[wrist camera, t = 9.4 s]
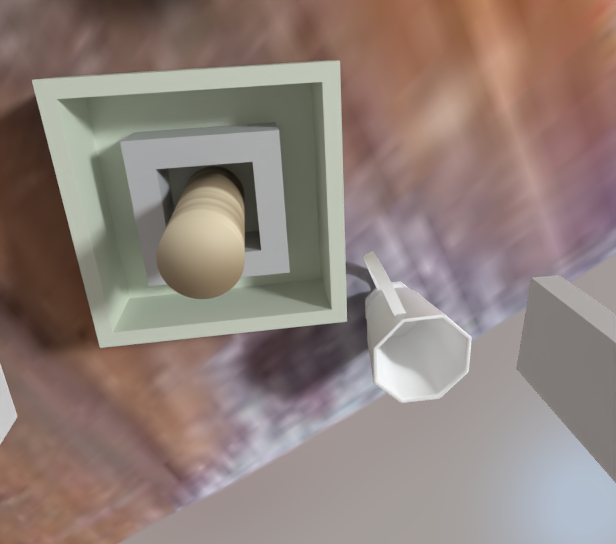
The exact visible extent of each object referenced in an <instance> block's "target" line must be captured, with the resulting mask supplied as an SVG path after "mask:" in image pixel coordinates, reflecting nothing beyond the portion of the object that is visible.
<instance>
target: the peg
mask: <svg viewBox="0 0 616 544" xmlns="http://www.w3.org/2000/svg"><path fill="white" fill-rule="evenodd" d="M156 261H157V267H158V270H159V272H160V275H161V276H162V278H163V280H164V281H165V282H166V284H167V285H168V286H169V287H170V288H172V289H173V290H174V291H176V292H177V293H179V294H181V295H183V296H186V297H189V298H194V299H210V298H215V297H218V296H220V295H223V294H224V293H226V292H228V291H229V290H230V289H232V288H233V287H234V286H235V285H236V283H237V282H238V281H239V279H240V277H241V275H242V273H243V269H244V263H245V196H244V189H243V186H242V184H241V182H240V180H239V179H238V178H237V176H236V175H235V174H233V173H232V172H231V171H229V170H227V169H225V168H222V167H216V166H210V167H205V168H202V169H200V170H198V171H197V172H195V173H194V174H193V175H192V176H191V177H190V179H189V180H188V182H187V184H186V186H185V189H184V191H183V193H182V195H181V197H180V199H179V201H178V204H177V206H176V208H175V210H174V212H173V214H172V217H171V219H170V221H169V223H168V225H167V227H166V229H165V232H164V234H163V236H162V238H161V240H160V242H159V245H158V248H157V253H156Z"/></svg>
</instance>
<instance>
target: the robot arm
mask: <svg viewBox="0 0 616 544" xmlns="http://www.w3.org/2000/svg"><path fill="white" fill-rule="evenodd" d="M517 370H518V371H519V372H520V373H521V374H522V376H523V377H524V378H525V379H526V380H527V381H528V383H529V384H530V385H531V386H532V387H533V388H534V390H535V391H536V392H537V393H538V394H539V395H540V396H541V397H542V399H543V400H544V401H545V402H546V403H547V404H548V406H549V407H550V408H551V409H552V410H553V411H554V412H555V414H556V415H557V416H558V417H559V418H560V419H561V421H562V422H563V423H564V424H565V425H566V426H567V427H568V429H569V430H570V431H571V432H572V433H573V434H574V435H575V436H576V438H577V439H578V440H579V441H580V442H581V443H582V445H583V446H584V447H585V448H586V449H587V450H588V452H589V453H590V454H591V455H592V456H593V457H594V458H595V460H596V461H597V462H598V463H599V464H600V465H601V466H602V468H603V469H604V470H605V471H606V472H607V473H608V474H609V476H610V477H611V478H612V479H613V480H614V481H615V482H616V314H614V313H613V312H612V311H610V310H609V309H607V308H606V307H604V306H603V305H602V304H600V303H599V302H597V301H596V300H594V299H593V298H592V297H590V296H589V295H587V294H586V293H584V292H583V291H581V290H580V289H578V288H577V287H576V286H574V285H573V284H571V283H570V282H569V281H567V280H566V279H564V278H563V277H561V276H560V275H559V276H546V277H534V278H531V283H530V289H529V295H528V301H527V308H526V314H525V320H524V326H523V332H522V339H521V344H520V351H519V356H518V363H517ZM16 418H17V414H16V411H15V408H14V404H13V401H12V398H11V395H10V392H9V389H8V386H7V383H6V380H5V377H4V374H3V370H2V367H1V364H0V444H1V442H2V441H3V439H4V438H5V436H6V434H7V433H8V431H9V430H10V428H11V426H12V425H13V423H14V422H15V420H16Z"/></svg>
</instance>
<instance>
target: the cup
mask: <svg viewBox="0 0 616 544" xmlns="http://www.w3.org/2000/svg"><path fill="white" fill-rule="evenodd" d="M363 258H364V261H365V263H366V266H367V268H368V271H369V273H370V275H371V277H372V280H373V282H374V284H375V286H376V288H375V289H374V290H373V291H372V292H371V293H370V294H369V295H368V296H367V297H366V298H365V318H366V320H367V343H368V349H369V354H370V360H371V368H372V375H373V381H374V384H376V385H377V386H379V387H380V388H381V389H383V390H384V391H385V392H387V393H388V394H390V395H391V396H392V397H394V398H395V399H397V400H398V401H399V402H401V403H406V402H414V401H422V400H430V399H438V398H441V397H442V396H443V395H444V394H445V393H446V392H447V391H448V390H449V389H451V388H452V387H453V386H454V385H455V384H456V383H457V382H458V381H459V380H460V379H461V378H462V377H464V376H465V375H466V374H467V373H468V372H469V361H470V349H471V336H470V335H468V334H467V333H466V332H465V331H464V330H462V329H461V328H460V327H459V326H458V325H457V324H455V323H454V322H453V321H452V320H451V319H449V318H448V317H447V316H446V315H445V314H443V313H442V312H441V311H440V310H439V309H437V308H436V307H435V306H433V305H432V304H431V303H429V302H428V301H427V300H426V299H424V298H423V297H422V296H421V295H420V294H418V293H417V292H415V291H413V290H411V289H409V288H408V287H407V286H405V285H404V284H403V283H402V282H392V283H391V281H390V279H389V277H388V275H387V273H386V272H385V270H384V268H383V266H382V265H381V263H380V261H379V260H378V258H377V256H376V255H375V253H374V252H373V251H372V252H370V253H368V254H366V255H364V256H363Z"/></svg>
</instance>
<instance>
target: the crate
mask: <svg viewBox="0 0 616 544" xmlns="http://www.w3.org/2000/svg"><path fill="white" fill-rule="evenodd" d="M32 83H33V87H34V91H35V95H36V99H37V103H38V107H39V110H40V114H41V118H42V122H43V126H44V130H45V134H46V138H47V142H48V146H49V150H50V154H51V158H52V161H53V165H54V169H55V173H56V177H57V181H58V185H59V189H60V193H61V197H62V201H63V205H64V209H65V212H66V216H67V220H68V224H69V228H70V232H71V236H72V240H73V244H74V248H75V252H76V256H77V260H78V263H79V267H80V271H81V275H82V279H83V283H84V287H85V291H86V295H87V299H88V303H89V307H90V311H91V314H92V318H93V322H94V326H95V330H96V334H97V338H98V342H99V346H100V348H103V347H112V346H122V345H131V344H141V343H150V342H159V341H169V340H178V339H188V338H197V337H207V336H216V335H225V334H235V333H244V332H254V331H263V330H272V329H282V328H291V327H301V326H310V325H319V324H329V323H338V322H347V298H346V262H345V227H344V191H343V155H342V120H341V84H340V61H310V62H294V63H278V64H261V65H245V66H229V67H213V68H196V69H180V70H164V71H147V72H131V73H115V74H99V75H82V76H67V77H57V78H46V79H36V80H32ZM210 166H216V167H222V168H225V169H227V170H229V171H231V172H232V173H233V174H235V175H236V176H237V178H238V179H239V180H240V182H241V184H242V186H243V189H244V196H245V263H244V269H243V273H242V275H241V277H240V279H239V281H238V282H237V283H236V285H235V286H234V287H233V288H232V289H230V290H229V291H228V292H226V293H224V294H223V295H220V296H218V297H215V298H210V299H194V298H189V297H186V296H183V295H181V294H179V293H177V292H176V291H174V290H173V289H172V288H170V287H169V286H168V285H167V284H166V282H165V281H164V280H163V278H162V276H161V275H160V272H159V270H158V267H157V261H156V253H157V248H158V245H159V242H160V240H161V238H162V236H163V234H164V232H165V229H166V227H167V225H168V223H169V221H170V219H171V217H172V214H173V212H174V210H175V208H176V206H177V204H178V201H179V199H180V197H181V195H182V193H183V191H184V189H185V186H186V184H187V182H188V180H189V179H190V177H191V176H192V175H193V174H194V173H195V172H197V171H198V170H200V169H202V168H205V167H210Z"/></svg>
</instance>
